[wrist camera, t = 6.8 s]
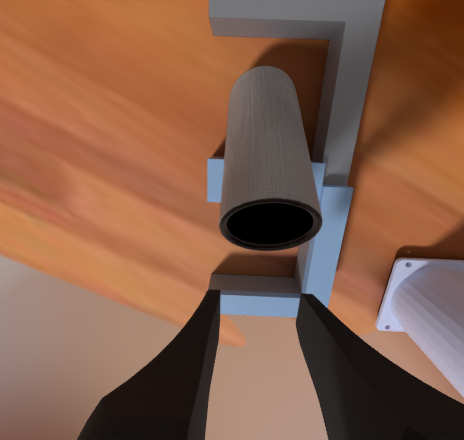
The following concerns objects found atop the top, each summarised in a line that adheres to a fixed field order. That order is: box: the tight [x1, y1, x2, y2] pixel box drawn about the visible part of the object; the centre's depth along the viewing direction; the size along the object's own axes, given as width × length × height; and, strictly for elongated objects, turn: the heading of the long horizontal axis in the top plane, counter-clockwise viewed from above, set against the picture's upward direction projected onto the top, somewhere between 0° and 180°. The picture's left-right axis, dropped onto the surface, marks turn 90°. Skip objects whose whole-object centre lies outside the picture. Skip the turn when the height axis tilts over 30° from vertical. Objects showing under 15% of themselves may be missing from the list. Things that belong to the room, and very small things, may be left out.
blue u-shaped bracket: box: [208, 158, 354, 317], centre depth 17 cm, size 10×13×1 cm
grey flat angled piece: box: [208, 0, 385, 294], centre depth 17 cm, size 10×23×2 cm, turn 178°
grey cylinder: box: [219, 66, 323, 251], centre depth 13 cm, size 4×4×10 cm
